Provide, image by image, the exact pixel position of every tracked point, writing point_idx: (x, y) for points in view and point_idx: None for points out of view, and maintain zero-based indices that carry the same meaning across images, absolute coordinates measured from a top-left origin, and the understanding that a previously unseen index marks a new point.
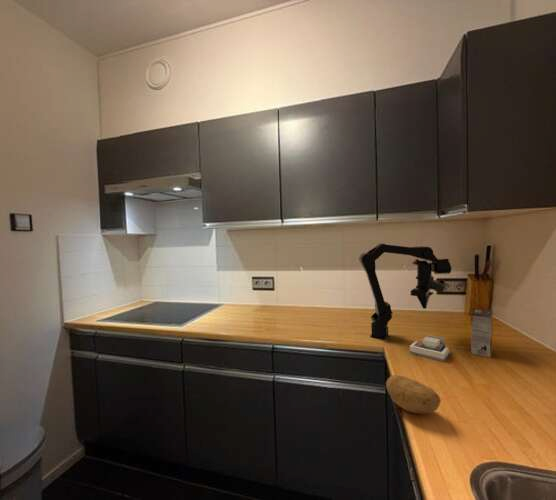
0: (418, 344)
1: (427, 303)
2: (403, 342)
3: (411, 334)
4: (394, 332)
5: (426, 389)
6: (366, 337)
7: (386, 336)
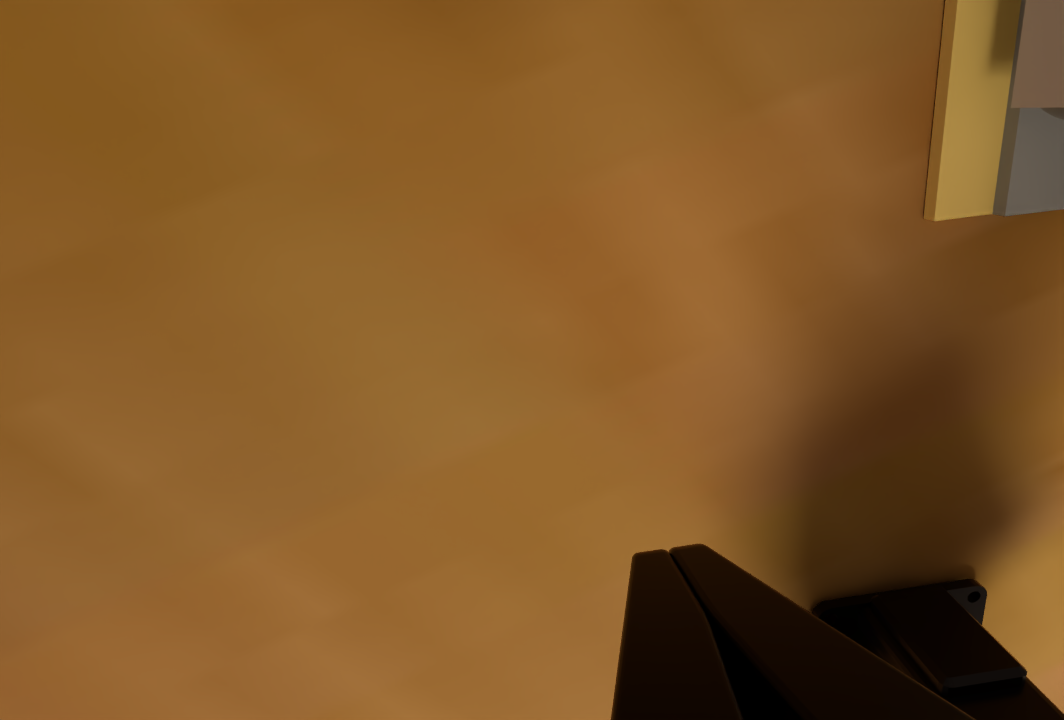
0: (1017, 195)
1: (626, 677)
2: (929, 394)
3: (579, 458)
4: None
5: None
6: None
7: (940, 592)
